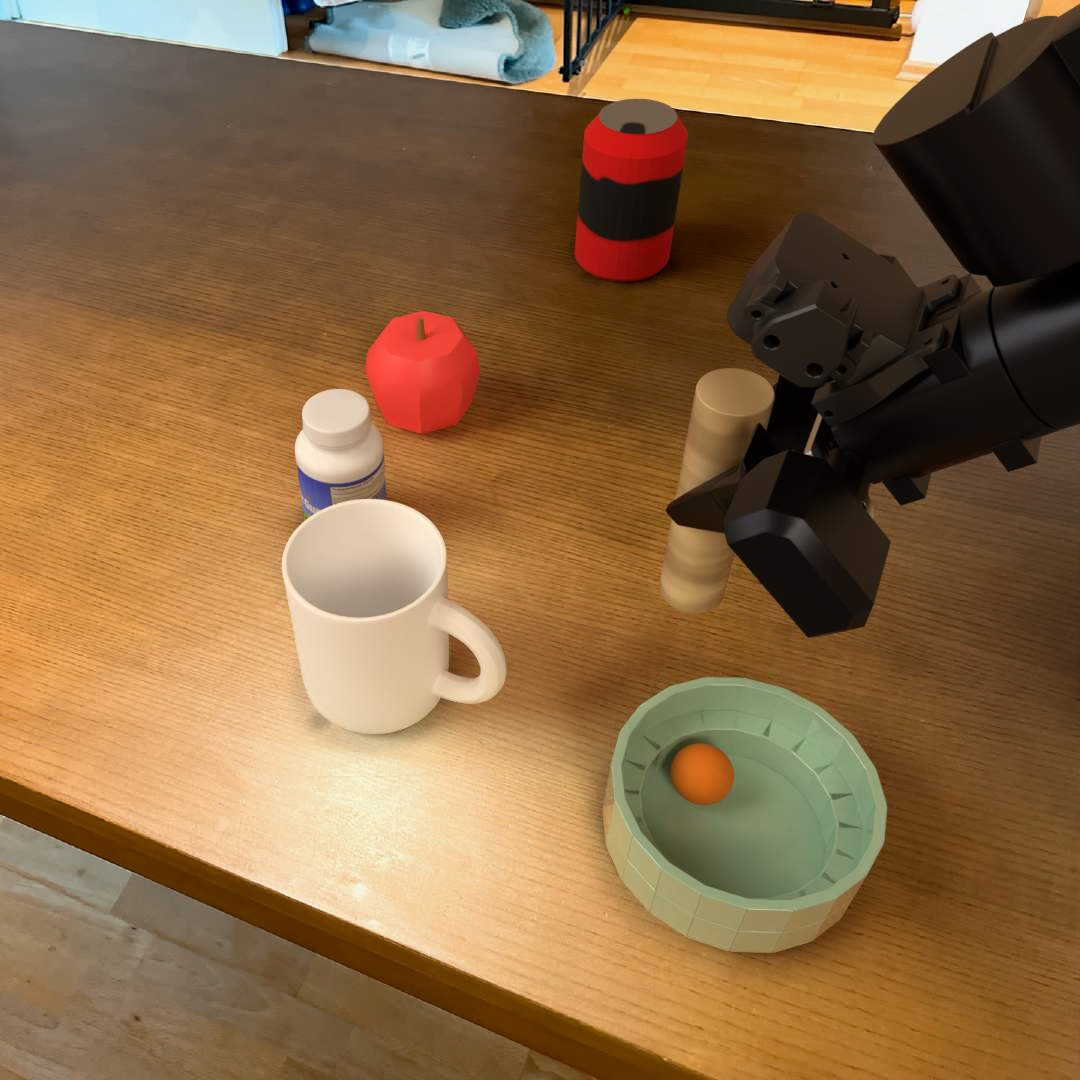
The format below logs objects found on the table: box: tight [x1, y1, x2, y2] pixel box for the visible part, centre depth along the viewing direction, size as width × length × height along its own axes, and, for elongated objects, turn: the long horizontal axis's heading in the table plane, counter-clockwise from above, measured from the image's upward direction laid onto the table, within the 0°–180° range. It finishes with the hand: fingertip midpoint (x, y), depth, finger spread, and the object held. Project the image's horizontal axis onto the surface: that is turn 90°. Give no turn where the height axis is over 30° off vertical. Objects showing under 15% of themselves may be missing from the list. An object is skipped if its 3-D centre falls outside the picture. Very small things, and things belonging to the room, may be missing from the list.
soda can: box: [574, 98, 689, 283], centre depth 83 cm, size 8×8×12 cm
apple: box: [364, 310, 482, 435], centre depth 73 cm, size 8×8×8 cm
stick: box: [658, 367, 775, 615], centre depth 50 cm, size 3×3×13 cm
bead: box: [671, 743, 734, 805], centre depth 53 cm, size 3×3×3 cm
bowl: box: [602, 676, 888, 954], centre depth 51 cm, size 12×12×5 cm
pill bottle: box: [294, 388, 387, 521], centre depth 66 cm, size 5×5×10 cm
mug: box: [281, 499, 508, 735], centre depth 56 cm, size 12×8×10 cm
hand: (683, 491), depth 50 cm, fingers closed on stick, 3 cm apart
